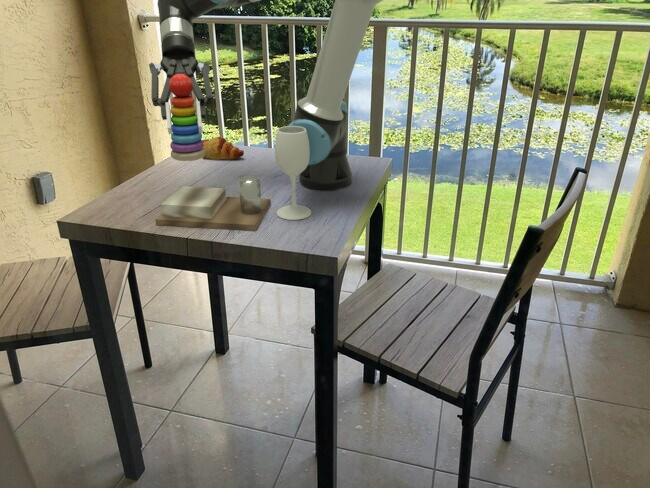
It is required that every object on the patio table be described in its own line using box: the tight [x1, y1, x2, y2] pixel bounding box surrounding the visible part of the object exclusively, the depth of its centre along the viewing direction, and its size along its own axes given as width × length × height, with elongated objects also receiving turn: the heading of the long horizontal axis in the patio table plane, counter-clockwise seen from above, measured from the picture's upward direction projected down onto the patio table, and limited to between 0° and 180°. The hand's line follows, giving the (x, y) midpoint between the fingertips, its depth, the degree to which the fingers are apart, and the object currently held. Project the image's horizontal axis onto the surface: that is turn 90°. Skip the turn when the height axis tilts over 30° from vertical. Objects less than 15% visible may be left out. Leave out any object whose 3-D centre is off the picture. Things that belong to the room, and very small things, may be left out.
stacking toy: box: [169, 74, 206, 162], centre depth 116 cm, size 8×8×19 cm
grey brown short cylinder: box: [238, 175, 262, 215], centre depth 123 cm, size 5×5×8 cm
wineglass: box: [274, 125, 312, 221], centre depth 122 cm, size 9×9×21 cm
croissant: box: [201, 136, 245, 161], centre depth 167 cm, size 21×10×8 cm, turn 66°
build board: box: [155, 185, 272, 232], centre depth 125 cm, size 24×16×4 cm, turn 83°
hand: (185, 130), depth 114 cm, fingers closed on stacking toy, 6 cm apart
